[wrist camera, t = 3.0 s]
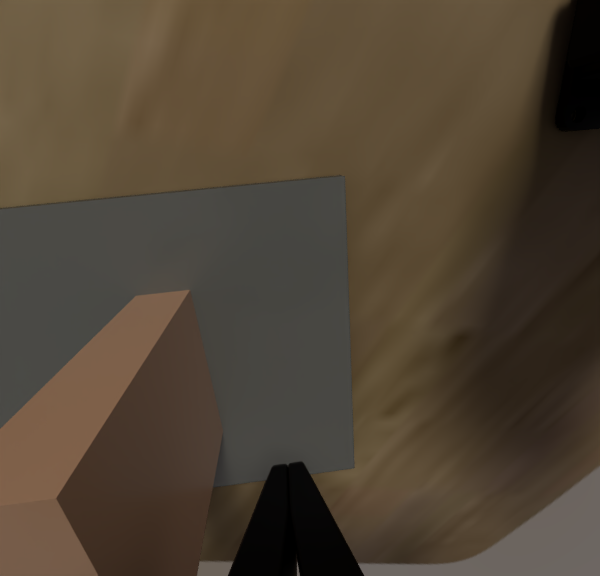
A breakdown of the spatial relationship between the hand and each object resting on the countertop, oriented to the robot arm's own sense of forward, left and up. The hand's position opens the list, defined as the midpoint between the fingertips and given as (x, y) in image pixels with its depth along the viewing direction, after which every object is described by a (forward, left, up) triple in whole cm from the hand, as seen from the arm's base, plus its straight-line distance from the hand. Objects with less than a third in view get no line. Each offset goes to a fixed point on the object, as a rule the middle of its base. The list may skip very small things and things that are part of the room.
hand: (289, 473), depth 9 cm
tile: (+4, 0, -5) cm, 7 cm away
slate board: (+7, 0, -6) cm, 9 cm away
